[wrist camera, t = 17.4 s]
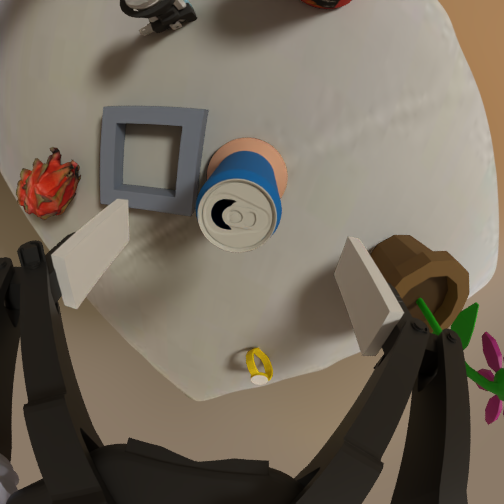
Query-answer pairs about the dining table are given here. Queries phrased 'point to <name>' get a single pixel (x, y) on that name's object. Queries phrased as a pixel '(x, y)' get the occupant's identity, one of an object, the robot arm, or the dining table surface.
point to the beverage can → (239, 203)
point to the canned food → (327, 3)
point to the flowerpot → (440, 303)
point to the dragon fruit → (48, 186)
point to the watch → (256, 376)
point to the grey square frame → (188, 163)
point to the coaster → (256, 147)
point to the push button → (159, 13)
